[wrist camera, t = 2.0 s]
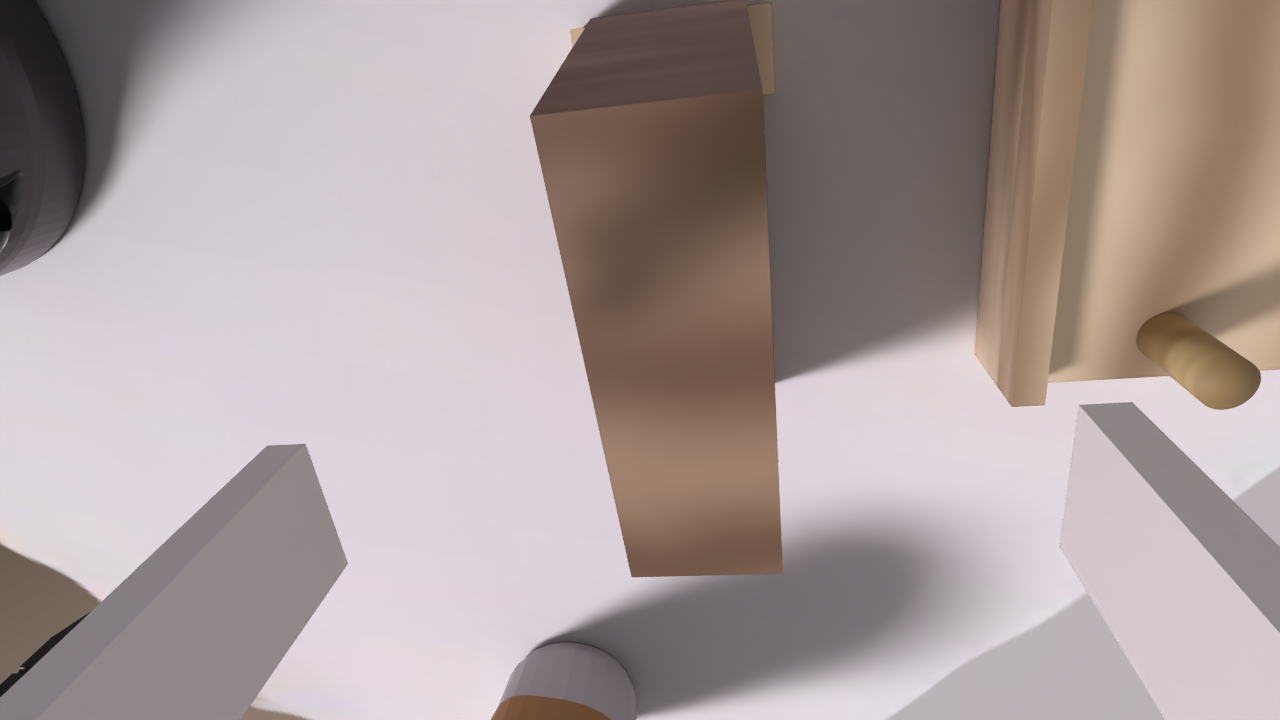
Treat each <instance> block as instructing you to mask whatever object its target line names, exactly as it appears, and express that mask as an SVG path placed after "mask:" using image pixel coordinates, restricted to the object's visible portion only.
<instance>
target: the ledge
mask: <svg viewBox="0 0 1280 720" xmlns="http://www.w3.org/2000/svg"><path fill="white" fill-rule="evenodd" d="M975 356H976V357H977V359H978V360H979V361H980V363H981V364H982V366H983V367H984V368H985V370H986V371H987V373H988V374H989V375H990V377H991V378H992V380H993V381H994V382H995V384H996V385H997V387H998V388H999V389H1000V391H1001V392H1002V394H1003V395H1004V396H1005V398H1006V399H1007V401H1008V402H1009V403H1010V405H1011V406H1012V407H1020V406H1039V405H1045V399H1046V391H1047V383H1052V382H1070V381H1087V380H1105V379H1122V378H1140V377H1157V376H1171V377H1172V378H1173V379H1174V380H1175V381H1177V382H1178V383H1179V384H1180V385H1181V386H1183V387H1184V388H1185V389H1186V390H1187V391H1189V392H1190V393H1191V394H1192V395H1193V396H1195V397H1196V398H1197V399H1198V400H1199V401H1201V402H1202V403H1203V404H1204V405H1206V406H1207V407H1210V408H1213V409H1221V410H1223V409H1230V408H1234V407H1237V406H1239V405H1241V404H1243V403H1245V402H1246V401H1247V400H1249V399H1250V398H1251V397H1252V396H1253V395H1254V394H1255V393H1256V391H1257V389H1258V387H1259V385H1260V381H1261V375H1260V371H1262V370H1279V369H1280V0H1001V6H1000V19H999V33H998V46H997V60H996V74H995V87H994V101H993V114H992V128H991V141H990V155H989V169H988V182H987V196H986V209H985V223H984V237H983V250H982V264H981V277H980V291H979V304H978V318H977V332H976V345H975Z"/></svg>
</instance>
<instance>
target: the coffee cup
mask: <svg viewBox="0 0 1280 720" xmlns="http://www.w3.org/2000/svg"><path fill="white" fill-rule="evenodd" d="M636 706H637V704H636V692H635V690H634V688H633V685H632V683H631V681H630V679H629V676H628V674H627V672H626V670H625V669H624V668H623V667H622V666H621V664H620V663H619V662H618V661H617V660H615V659H614V658H613V657H611V656H610V655H609V654H607V653H606V652H603V651H601V650H599V649H597V648H595V647H593V646H588V645H584V644H580V643H569V642H560V643H554V644H548V645H545V646H543V647H541V648H538V649H536V650H534V651H533V652H532V653H531V654H529V655H528V656H527V657H526V658H525V659H524V660H523V661H522V662H520V663H519V664H518V665H517V667H516V668H515V670H514V671H513V673H512V674H511V677H510V679H509V682H508V684H507V686H506V689H505V691H504V694H503V696H502V699H501V701H500V704H499V706H498V708H497V710H496V712H495V713H494V715H493V717H492V719H491V720H636Z"/></svg>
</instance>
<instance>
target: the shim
mask: <svg viewBox="0 0 1280 720" xmlns="http://www.w3.org/2000/svg"><path fill="white" fill-rule="evenodd" d="M747 10H748V15H749V20H750V26H751V31H752V36H753V42H754V47H755V52H756V58H757V63H758V68H759V74H760V79H761V84H762V92H763V95H765V94H774V93H775V78H774V54H773V31H772V7H771V3H765V4H757V5H749V6H747ZM584 29H585V27H583V28H577V29H571V30H570V32H571V39H572V46H574V45H575V43H576V42H577V40H578V38H579V37H580V35H581V34H582V32H583V30H584Z"/></svg>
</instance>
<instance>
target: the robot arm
mask: <svg viewBox="0 0 1280 720" xmlns="http://www.w3.org/2000/svg"><path fill="white" fill-rule="evenodd" d="M84 157H85V151H84V135H83V126H82V120H81V114H80V109H79V104H78V100H77V96H76V92H75V89H74V86H73V82H72V79H71V76H70V73H69V70H68V68H67V65H66V63H65V60H64V57H63V55H62V53H61V51H60V48H59V46H58V44H57V42H56V39H55V37H54V35H53V33H52V32H51V30H50V28H49V26H48V24H47V22H46V20H45V18H44V17H43V15H42V13H41V11H40V10H39V8H38V6H37V5H36V3H35V2H34V0H0V276H1V275H4V274H6V273H9V272H12V271H14V270H17V269H19V268H21V267H23V266H26V265H28V264H29V263H31V262H33V261H34V260H36V259H37V258H39V257H40V256H41V255H43V254H44V253H45V252H46V251H47V250H48V249H49V248H51V247H52V246H53V245H54V243H55V242H56V241H57V240H58V239H59V238H60V236H61V235H62V233H63V232H64V230H65V229H66V227H67V225H68V224H69V222H70V220H71V218H72V216H73V213H74V211H75V208H76V206H77V202H78V199H79V196H80V192H81V187H82V182H83V173H84ZM1059 547H1060V548H1061V550H1062V552H1063V553H1064V555H1065V557H1066V558H1067V560H1068V561H1069V563H1070V565H1071V566H1072V568H1073V570H1074V571H1075V573H1076V575H1077V576H1078V578H1079V579H1080V581H1081V583H1082V584H1083V586H1084V588H1085V589H1086V591H1087V593H1088V594H1089V595H1090V597H1091V599H1092V601H1093V602H1094V604H1095V606H1096V607H1097V609H1098V610H1099V612H1100V613H1101V615H1102V617H1103V619H1104V620H1105V622H1106V624H1107V625H1108V627H1109V628H1110V630H1111V632H1112V633H1113V635H1114V636H1115V638H1116V640H1117V642H1118V643H1119V645H1120V646H1121V648H1122V650H1123V651H1124V653H1125V655H1126V656H1127V658H1128V659H1129V661H1130V663H1131V664H1132V666H1133V668H1134V669H1135V671H1136V673H1137V674H1138V676H1139V677H1140V679H1141V681H1142V682H1143V684H1144V686H1145V687H1146V689H1147V691H1148V692H1149V694H1150V695H1151V697H1152V698H1153V700H1154V702H1155V704H1156V705H1157V707H1158V708H1159V710H1160V712H1161V713H1162V715H1163V717H1164V718H1165V720H1280V547H1279V546H1278V545H1277V544H1276V543H1275V542H1274V541H1273V540H1272V539H1271V538H1270V537H1269V536H1268V535H1267V534H1266V533H1265V532H1264V531H1263V530H1262V529H1261V528H1260V527H1259V526H1258V525H1257V524H1256V523H1255V522H1254V521H1253V520H1252V519H1251V518H1250V517H1249V516H1248V515H1247V514H1246V513H1245V512H1244V511H1243V510H1242V509H1241V508H1239V506H1238V505H1237V504H1236V503H1235V502H1233V501H1232V500H1231V499H1230V498H1229V497H1228V496H1227V495H1226V494H1225V493H1224V492H1223V491H1222V490H1221V489H1220V488H1219V487H1218V486H1217V485H1216V484H1215V483H1214V482H1213V481H1212V480H1211V479H1210V478H1209V477H1208V476H1207V475H1206V474H1205V473H1204V472H1203V471H1202V470H1201V469H1200V468H1199V467H1198V466H1197V465H1196V464H1195V463H1194V462H1193V461H1192V460H1191V459H1190V458H1189V457H1188V456H1186V455H1185V454H1184V453H1183V452H1182V451H1181V450H1180V449H1179V448H1178V447H1177V446H1176V445H1175V444H1174V443H1173V442H1172V441H1171V440H1170V439H1169V438H1168V437H1167V436H1166V435H1165V434H1164V433H1163V432H1162V431H1161V430H1160V429H1159V428H1158V427H1157V426H1156V425H1155V424H1154V423H1153V422H1152V421H1151V420H1150V419H1149V418H1148V417H1147V416H1146V415H1145V414H1144V413H1143V412H1142V411H1141V410H1139V409H1138V408H1137V407H1136V406H1135V405H1134V404H1133V403H1132V402H1128V403H1108V404H1089V405H1079V408H1078V415H1077V422H1076V430H1075V437H1074V444H1073V451H1072V459H1071V466H1070V473H1069V480H1068V488H1067V495H1066V502H1065V509H1064V516H1063V524H1062V531H1061V538H1060V545H1059ZM347 564H348V563H347V560H346V557H345V554H344V551H343V549H342V546H341V543H340V540H339V537H338V534H337V532H336V529H335V526H334V523H333V520H332V517H331V515H330V512H329V509H328V506H327V503H326V501H325V498H324V495H323V492H322V489H321V486H320V484H319V481H318V478H317V475H316V472H315V469H314V467H313V464H312V461H311V458H310V455H309V453H308V450H307V447H306V444H294V445H274V446H266V447H265V448H264V449H263V450H262V451H261V452H260V453H259V454H258V455H257V456H256V457H255V458H254V459H253V460H252V461H251V462H249V463H248V464H247V465H246V466H245V467H244V468H243V469H242V470H241V471H240V472H239V473H238V474H237V475H236V476H235V477H234V478H233V479H231V480H230V481H229V482H228V483H227V484H226V485H225V486H224V487H223V488H222V489H221V490H220V491H219V492H218V493H217V494H216V495H214V496H213V497H212V498H211V499H210V500H209V501H208V502H207V503H206V504H205V505H204V506H203V507H202V508H201V509H200V510H199V511H198V512H196V513H195V514H194V515H193V516H192V517H191V518H190V519H189V520H188V521H187V522H186V523H185V524H184V525H183V526H182V527H181V528H180V529H178V530H177V531H176V532H175V533H174V534H173V535H172V536H171V537H170V538H169V539H168V540H167V541H166V542H165V543H164V544H163V545H161V546H160V547H159V548H158V549H157V550H156V551H155V552H154V553H153V554H152V555H151V556H150V557H149V558H148V559H147V560H146V561H145V562H143V563H142V564H141V565H140V566H139V567H138V568H137V569H136V570H135V571H134V572H133V573H132V574H131V575H130V576H129V577H128V578H126V579H125V580H124V581H123V582H122V583H121V584H120V585H119V586H118V587H117V588H116V589H115V590H114V591H113V592H112V593H111V594H110V595H108V596H107V597H106V598H105V599H104V600H103V601H102V602H101V603H100V604H99V605H98V606H97V607H96V608H95V609H94V610H93V611H91V612H90V613H88V614H87V615H85V616H84V617H82V618H81V619H79V620H77V621H76V622H74V623H73V624H71V625H70V626H68V627H67V628H65V629H64V630H62V631H61V632H59V633H57V634H56V635H54V636H53V637H52V638H50V639H49V640H48V641H47V642H46V643H45V644H44V645H43V646H42V647H41V648H40V649H39V650H38V651H36V652H35V653H34V654H33V655H32V656H31V657H30V658H29V659H28V660H27V661H26V662H25V663H24V664H22V665H21V666H20V667H19V672H18V673H17V674H12V675H11V676H9V677H8V678H7V679H6V680H5V681H4V682H3V683H2V684H1V685H0V720H240V719H241V718H242V716H243V715H244V713H245V712H246V711H247V709H248V708H249V706H250V705H251V703H252V702H253V701H254V699H255V698H256V696H257V695H258V693H259V692H260V690H261V689H262V687H263V686H264V685H265V683H266V682H267V680H268V679H269V677H270V676H271V674H272V673H273V672H274V670H275V669H276V667H277V666H278V664H279V663H280V661H281V660H282V658H283V657H284V656H285V654H286V653H287V651H288V650H289V648H290V647H291V645H292V644H293V643H294V641H295V640H296V638H297V637H298V635H299V634H300V632H301V631H302V629H303V628H304V627H305V625H306V624H307V622H308V621H309V619H310V618H311V616H312V615H313V614H314V612H315V611H316V609H317V608H318V606H319V605H320V603H321V602H322V600H323V599H324V598H325V596H326V595H327V593H328V592H329V590H330V589H331V587H332V586H333V585H334V583H335V582H336V580H337V579H338V577H339V576H340V574H341V573H342V571H343V570H344V569H345V567H346V566H347Z"/></svg>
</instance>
